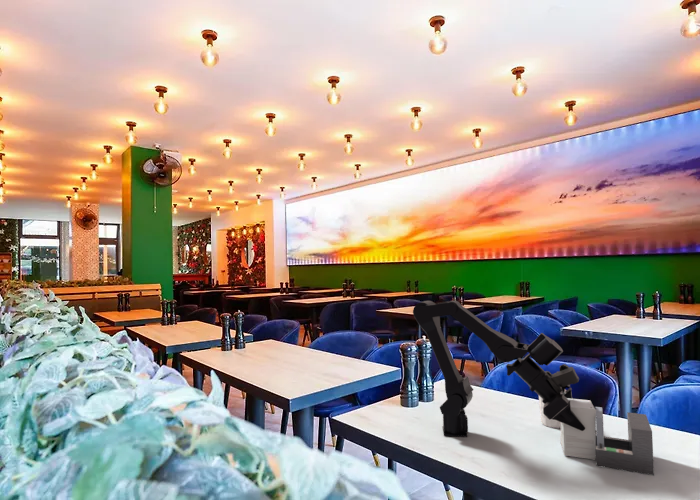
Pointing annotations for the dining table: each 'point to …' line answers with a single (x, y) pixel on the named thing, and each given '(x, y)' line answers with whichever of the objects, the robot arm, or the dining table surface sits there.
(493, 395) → the dining table surface
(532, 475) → the dining table surface
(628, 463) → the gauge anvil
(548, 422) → the white cup
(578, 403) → the supplement box
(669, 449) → the dining table surface
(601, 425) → the pad
